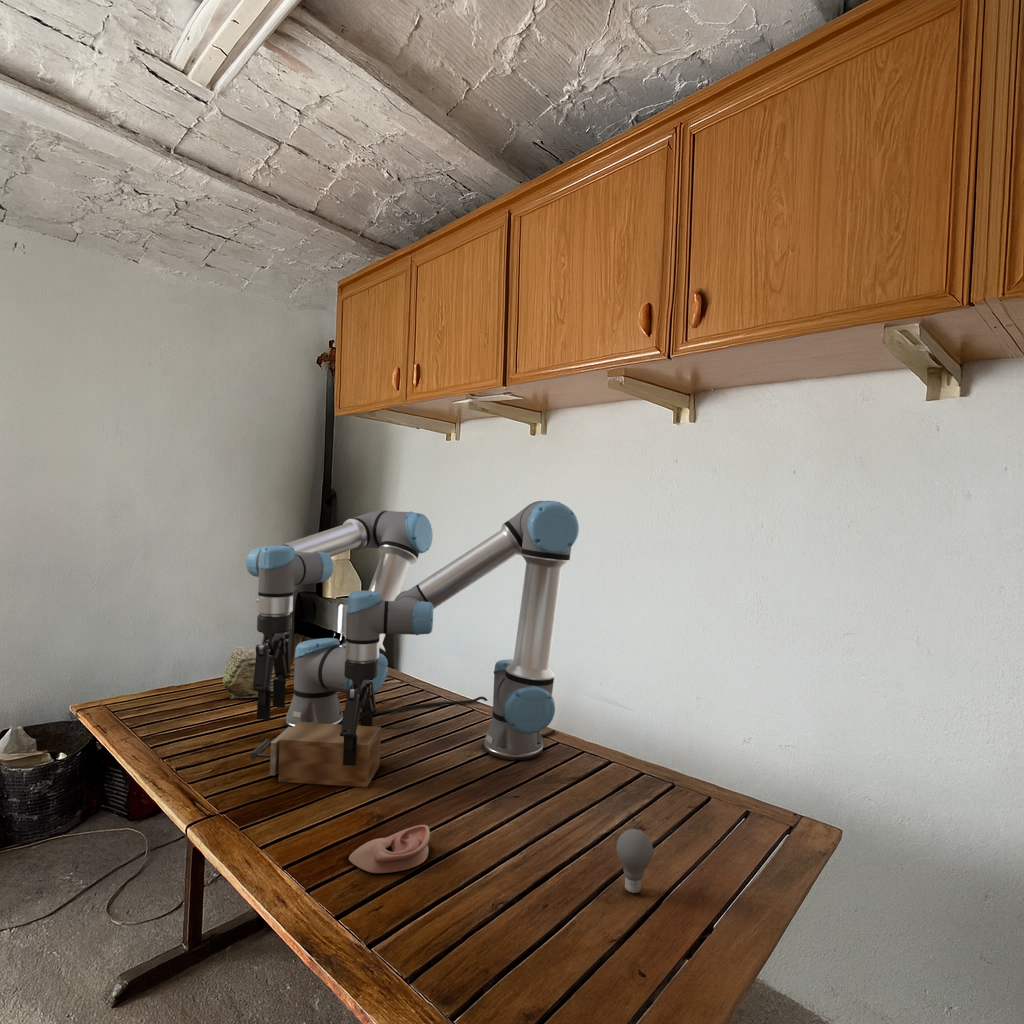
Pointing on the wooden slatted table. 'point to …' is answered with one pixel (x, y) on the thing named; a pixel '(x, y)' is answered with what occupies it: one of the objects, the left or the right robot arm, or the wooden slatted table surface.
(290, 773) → the cabinet
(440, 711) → the wooden slatted table surface
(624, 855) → the light bulb
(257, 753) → the drawer
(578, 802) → the wooden slatted table surface
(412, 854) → the anatomical model
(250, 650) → the fossil
